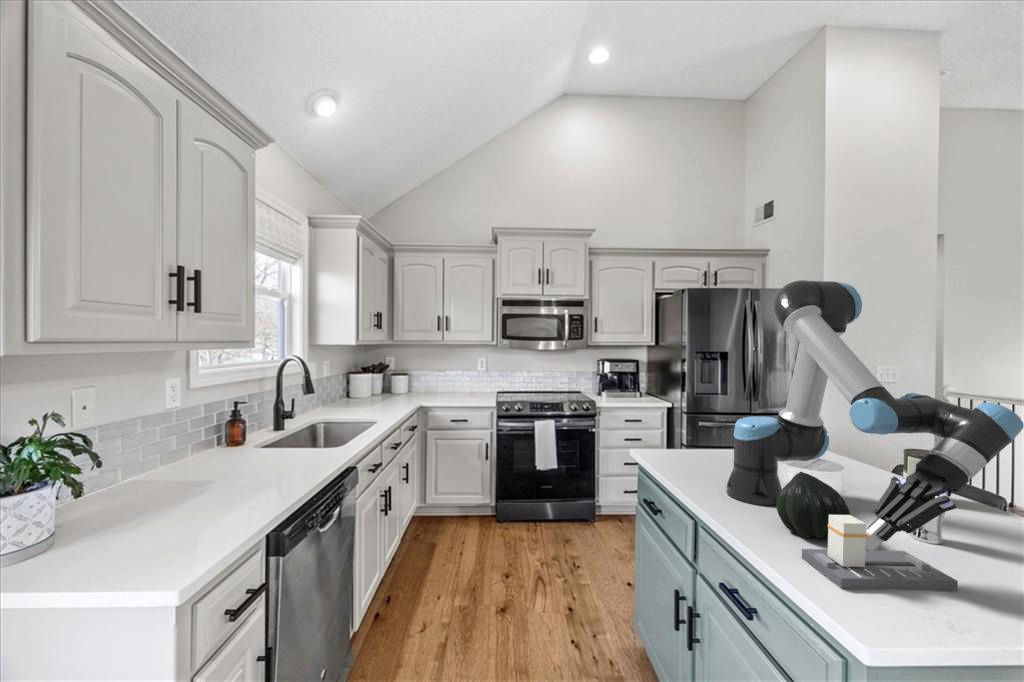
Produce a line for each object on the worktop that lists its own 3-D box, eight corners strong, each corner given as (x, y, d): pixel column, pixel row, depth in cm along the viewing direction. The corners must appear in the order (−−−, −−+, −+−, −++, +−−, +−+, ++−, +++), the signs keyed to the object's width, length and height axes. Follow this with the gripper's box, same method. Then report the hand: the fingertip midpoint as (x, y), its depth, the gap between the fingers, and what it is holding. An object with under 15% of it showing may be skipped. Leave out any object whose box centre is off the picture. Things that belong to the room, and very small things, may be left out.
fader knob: (848, 556, 96) (850, 514, 96) (865, 567, 91) (867, 523, 91) (826, 555, 96) (827, 514, 96) (842, 566, 91) (843, 523, 91)
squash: (865, 531, 101) (845, 467, 111) (788, 525, 105) (775, 464, 115) (845, 552, 111) (828, 492, 121) (776, 546, 115) (765, 488, 125)
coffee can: (893, 492, 144) (894, 447, 144) (929, 494, 143) (930, 449, 143) (919, 504, 134) (920, 456, 134) (957, 506, 133) (959, 458, 133)
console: (903, 560, 100) (904, 546, 99) (957, 591, 88) (957, 575, 87) (801, 558, 100) (802, 544, 100) (841, 588, 88) (841, 572, 88)
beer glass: (936, 535, 113) (938, 474, 113) (952, 547, 106) (955, 482, 106) (901, 530, 115) (903, 470, 115) (915, 542, 109) (917, 479, 108)
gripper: (995, 490, 87) (903, 576, 87) (932, 470, 100) (852, 545, 100) (967, 461, 87) (876, 548, 87) (908, 445, 100) (828, 520, 100)
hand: (863, 546), depth 93 cm, fingers closed
